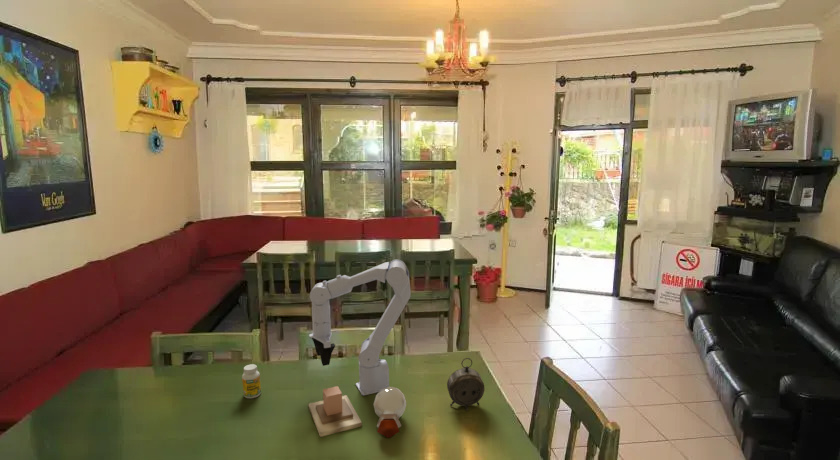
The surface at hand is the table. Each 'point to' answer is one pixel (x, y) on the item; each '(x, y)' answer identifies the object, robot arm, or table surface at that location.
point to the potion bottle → (389, 410)
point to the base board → (334, 418)
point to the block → (332, 400)
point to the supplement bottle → (251, 381)
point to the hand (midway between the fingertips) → (323, 359)
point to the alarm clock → (465, 386)
